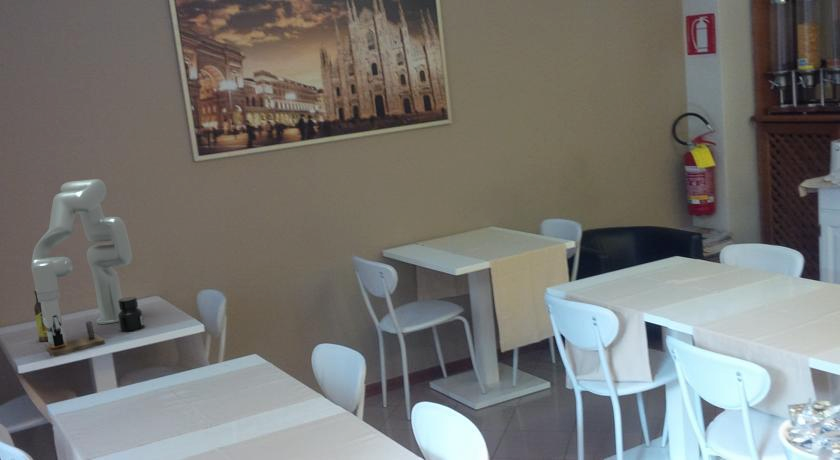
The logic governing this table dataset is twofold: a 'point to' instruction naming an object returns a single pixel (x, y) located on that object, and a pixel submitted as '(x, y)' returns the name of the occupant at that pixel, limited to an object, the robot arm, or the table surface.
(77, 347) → the pin board
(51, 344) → the sleeve
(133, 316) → the ink bottle
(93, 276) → the robot arm
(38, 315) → the sauce bottle
